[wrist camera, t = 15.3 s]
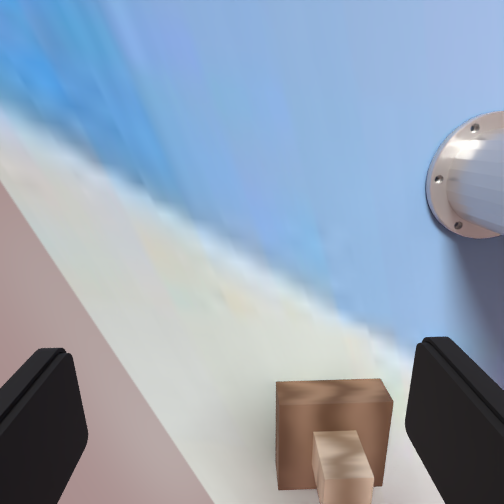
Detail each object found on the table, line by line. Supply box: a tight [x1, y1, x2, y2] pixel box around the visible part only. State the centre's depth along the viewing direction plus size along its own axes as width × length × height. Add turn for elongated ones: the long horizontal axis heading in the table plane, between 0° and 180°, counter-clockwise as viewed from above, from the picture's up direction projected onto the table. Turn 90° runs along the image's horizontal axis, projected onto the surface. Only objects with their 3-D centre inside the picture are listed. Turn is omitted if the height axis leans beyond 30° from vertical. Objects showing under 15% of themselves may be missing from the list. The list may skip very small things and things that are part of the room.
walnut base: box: [276, 379, 393, 490], centre depth 44 cm, size 13×13×4 cm
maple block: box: [312, 430, 374, 504], centre depth 39 cm, size 5×5×6 cm
